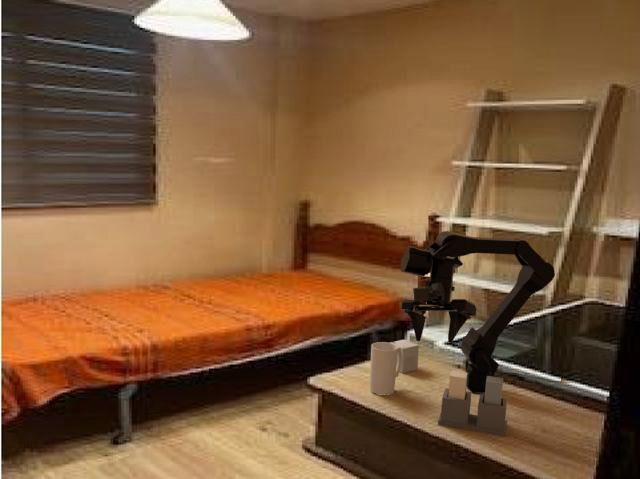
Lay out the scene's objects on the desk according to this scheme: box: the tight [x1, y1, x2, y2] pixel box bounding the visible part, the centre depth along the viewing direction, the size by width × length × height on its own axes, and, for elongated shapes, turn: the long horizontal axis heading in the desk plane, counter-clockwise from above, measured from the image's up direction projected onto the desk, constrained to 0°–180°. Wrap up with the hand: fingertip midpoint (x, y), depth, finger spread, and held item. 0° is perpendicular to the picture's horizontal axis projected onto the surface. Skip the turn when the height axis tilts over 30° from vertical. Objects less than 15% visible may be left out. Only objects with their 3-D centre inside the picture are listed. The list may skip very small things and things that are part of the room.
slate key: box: [484, 376, 504, 406], centre depth 141 cm, size 4×4×7 cm
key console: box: [437, 387, 508, 437], centre depth 143 cm, size 6×15×6 cm, turn 72°
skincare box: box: [389, 339, 420, 374], centre depth 177 cm, size 6×6×7 cm
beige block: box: [448, 370, 467, 400], centre depth 144 cm, size 4×4×7 cm
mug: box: [369, 341, 402, 396], centre depth 161 cm, size 10×7×12 cm, turn 129°
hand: (433, 341), depth 153 cm, fingers open, 9 cm apart
